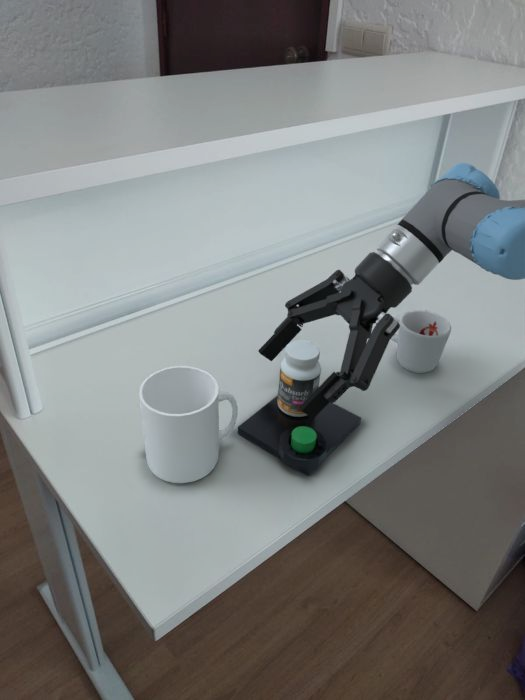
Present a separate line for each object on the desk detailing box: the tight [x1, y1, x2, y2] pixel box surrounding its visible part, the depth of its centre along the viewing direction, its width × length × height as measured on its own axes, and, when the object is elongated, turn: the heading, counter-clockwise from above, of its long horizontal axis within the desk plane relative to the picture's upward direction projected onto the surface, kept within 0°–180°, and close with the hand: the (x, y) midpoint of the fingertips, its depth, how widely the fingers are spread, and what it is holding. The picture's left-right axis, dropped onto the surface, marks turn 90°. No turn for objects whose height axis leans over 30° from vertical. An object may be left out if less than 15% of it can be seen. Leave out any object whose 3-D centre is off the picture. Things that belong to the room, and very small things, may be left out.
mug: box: [138, 365, 238, 484], centre depth 73 cm, size 10×12×12 cm
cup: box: [390, 309, 452, 374], centre depth 94 cm, size 11×8×8 cm
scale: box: [237, 395, 362, 477], centre depth 80 cm, size 12×14×3 cm
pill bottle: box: [277, 339, 322, 417], centre depth 81 cm, size 6×6×10 cm
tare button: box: [291, 426, 317, 453], centre depth 75 cm, size 3×3×2 cm
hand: (283, 383), depth 80 cm, fingers open, 13 cm apart
